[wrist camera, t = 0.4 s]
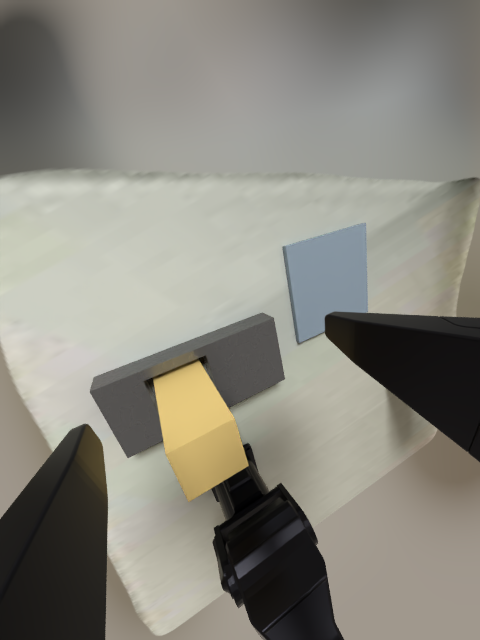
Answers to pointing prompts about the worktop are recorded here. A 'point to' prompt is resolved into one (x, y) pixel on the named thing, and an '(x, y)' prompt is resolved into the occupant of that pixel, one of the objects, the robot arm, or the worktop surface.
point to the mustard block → (197, 429)
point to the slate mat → (326, 278)
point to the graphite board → (216, 348)
